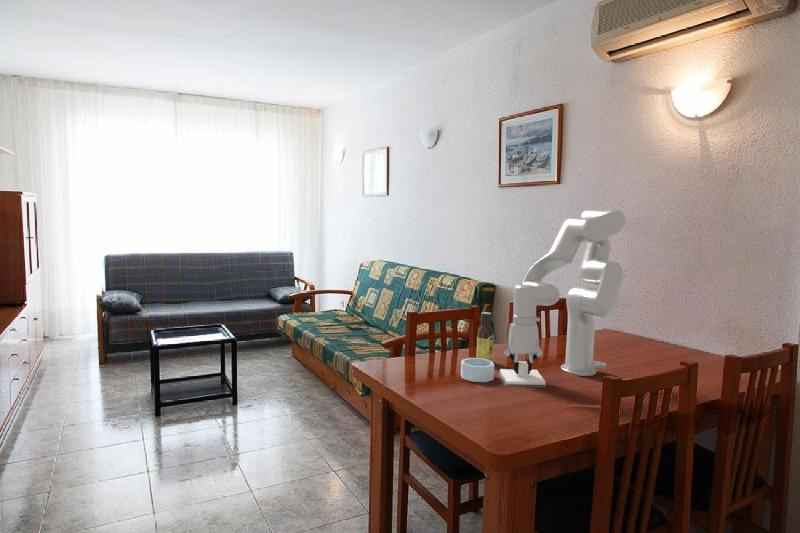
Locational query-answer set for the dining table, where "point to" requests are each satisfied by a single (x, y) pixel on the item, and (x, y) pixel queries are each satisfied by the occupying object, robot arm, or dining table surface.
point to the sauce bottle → (485, 338)
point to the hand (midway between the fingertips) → (522, 372)
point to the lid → (522, 375)
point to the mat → (517, 384)
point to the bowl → (477, 370)
